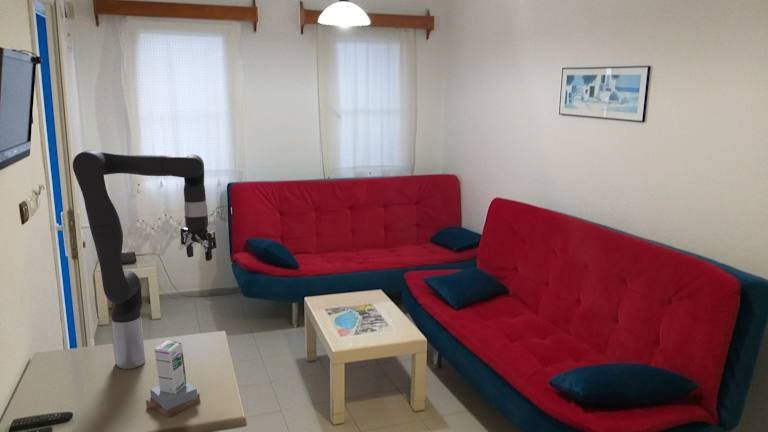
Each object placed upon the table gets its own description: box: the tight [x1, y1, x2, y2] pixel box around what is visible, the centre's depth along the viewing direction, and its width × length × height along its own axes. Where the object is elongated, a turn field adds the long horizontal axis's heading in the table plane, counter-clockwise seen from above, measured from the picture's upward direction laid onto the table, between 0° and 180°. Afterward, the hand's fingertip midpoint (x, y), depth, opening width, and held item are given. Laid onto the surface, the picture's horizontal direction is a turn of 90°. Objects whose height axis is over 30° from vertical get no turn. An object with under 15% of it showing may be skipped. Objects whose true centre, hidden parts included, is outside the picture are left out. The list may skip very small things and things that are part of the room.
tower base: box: [145, 392, 201, 418], centre depth 182 cm, size 11×11×3 cm
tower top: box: [149, 380, 198, 410], centre depth 181 cm, size 10×10×3 cm
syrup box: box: [153, 339, 188, 394], centre depth 179 cm, size 6×6×14 cm
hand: (199, 258), depth 206 cm, fingers open, 8 cm apart
